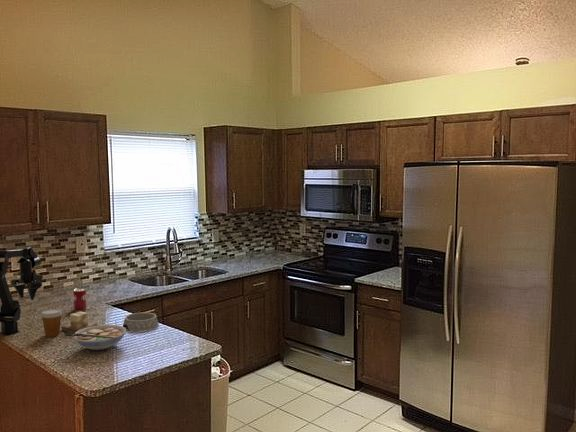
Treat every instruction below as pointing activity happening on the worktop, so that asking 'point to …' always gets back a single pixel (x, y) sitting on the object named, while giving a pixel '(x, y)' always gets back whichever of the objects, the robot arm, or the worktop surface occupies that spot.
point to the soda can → (79, 300)
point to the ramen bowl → (99, 336)
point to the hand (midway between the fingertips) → (27, 298)
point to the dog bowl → (141, 321)
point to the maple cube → (79, 319)
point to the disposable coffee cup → (51, 322)
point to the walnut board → (75, 329)
